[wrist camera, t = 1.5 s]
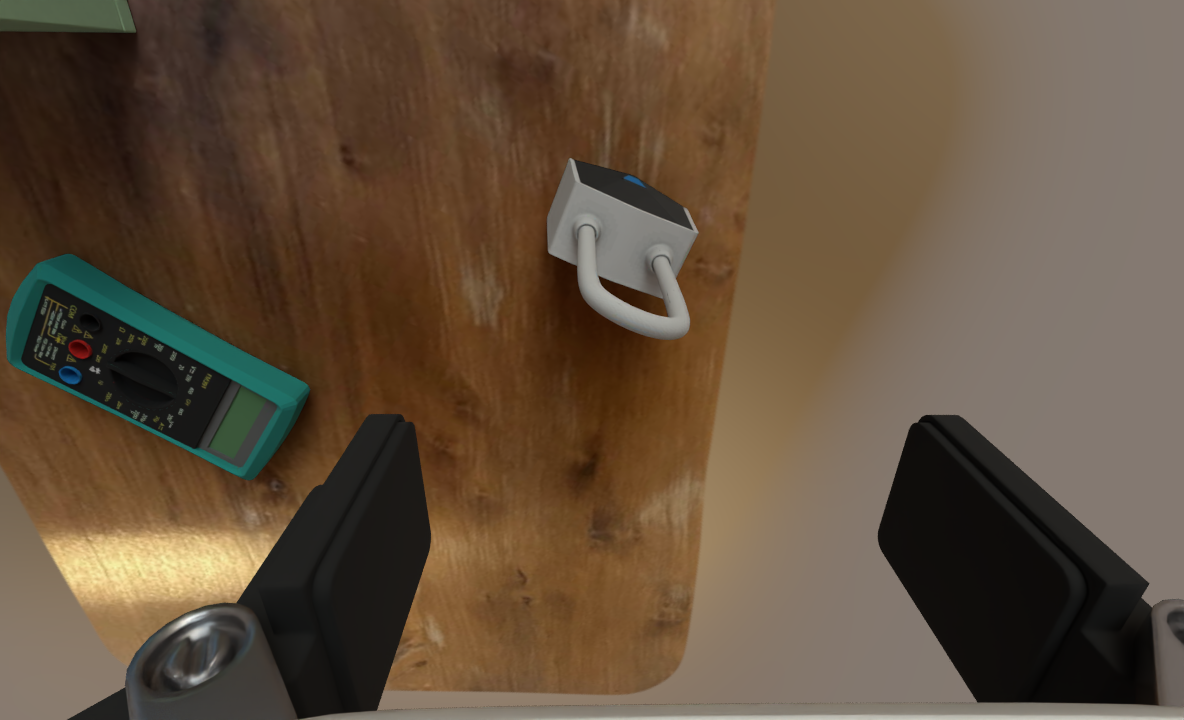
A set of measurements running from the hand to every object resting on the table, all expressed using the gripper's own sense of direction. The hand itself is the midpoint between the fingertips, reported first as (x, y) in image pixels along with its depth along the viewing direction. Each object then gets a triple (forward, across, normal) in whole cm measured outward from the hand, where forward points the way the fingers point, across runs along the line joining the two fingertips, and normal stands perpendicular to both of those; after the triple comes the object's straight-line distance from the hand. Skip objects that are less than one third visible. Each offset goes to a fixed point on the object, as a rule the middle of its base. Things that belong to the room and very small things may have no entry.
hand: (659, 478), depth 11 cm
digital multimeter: (+22, +26, +9) cm, 35 cm away
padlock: (+22, 0, 0) cm, 22 cm away
